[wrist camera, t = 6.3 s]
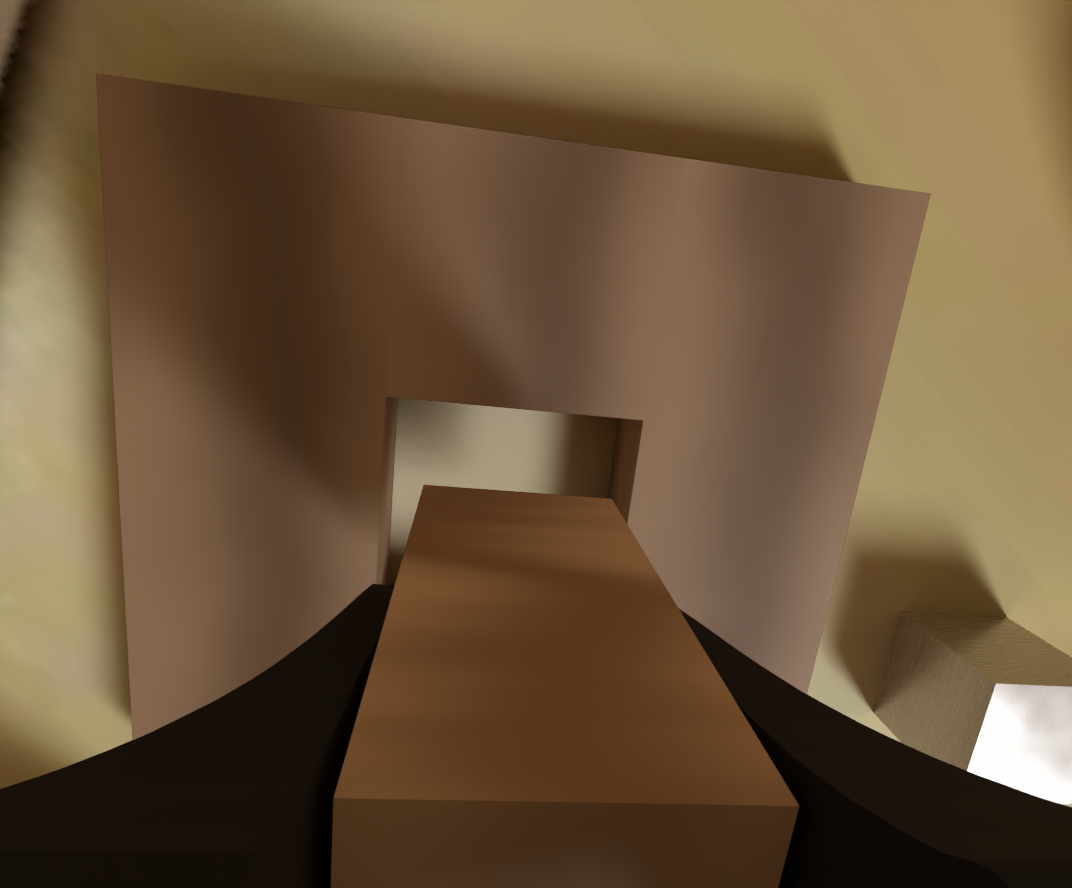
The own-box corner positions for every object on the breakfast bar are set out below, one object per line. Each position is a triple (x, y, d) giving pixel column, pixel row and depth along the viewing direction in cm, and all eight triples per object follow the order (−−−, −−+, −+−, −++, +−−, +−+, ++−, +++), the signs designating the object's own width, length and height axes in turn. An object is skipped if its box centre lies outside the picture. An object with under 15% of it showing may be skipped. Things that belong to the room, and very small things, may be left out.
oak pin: (412, 654, 14) (323, 1137, 6) (423, 484, 13) (333, 798, 5) (587, 661, 14) (717, 1120, 6) (611, 498, 13) (799, 805, 5)
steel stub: (872, 710, 22) (957, 802, 18) (900, 610, 21) (995, 683, 17) (973, 714, 22) (1077, 804, 18) (1005, 616, 21) (1122, 689, 17)
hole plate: (179, 754, 20) (137, 820, 17) (157, 108, 15) (95, 73, 13) (740, 769, 22) (773, 828, 19) (867, 207, 17) (930, 193, 15)
